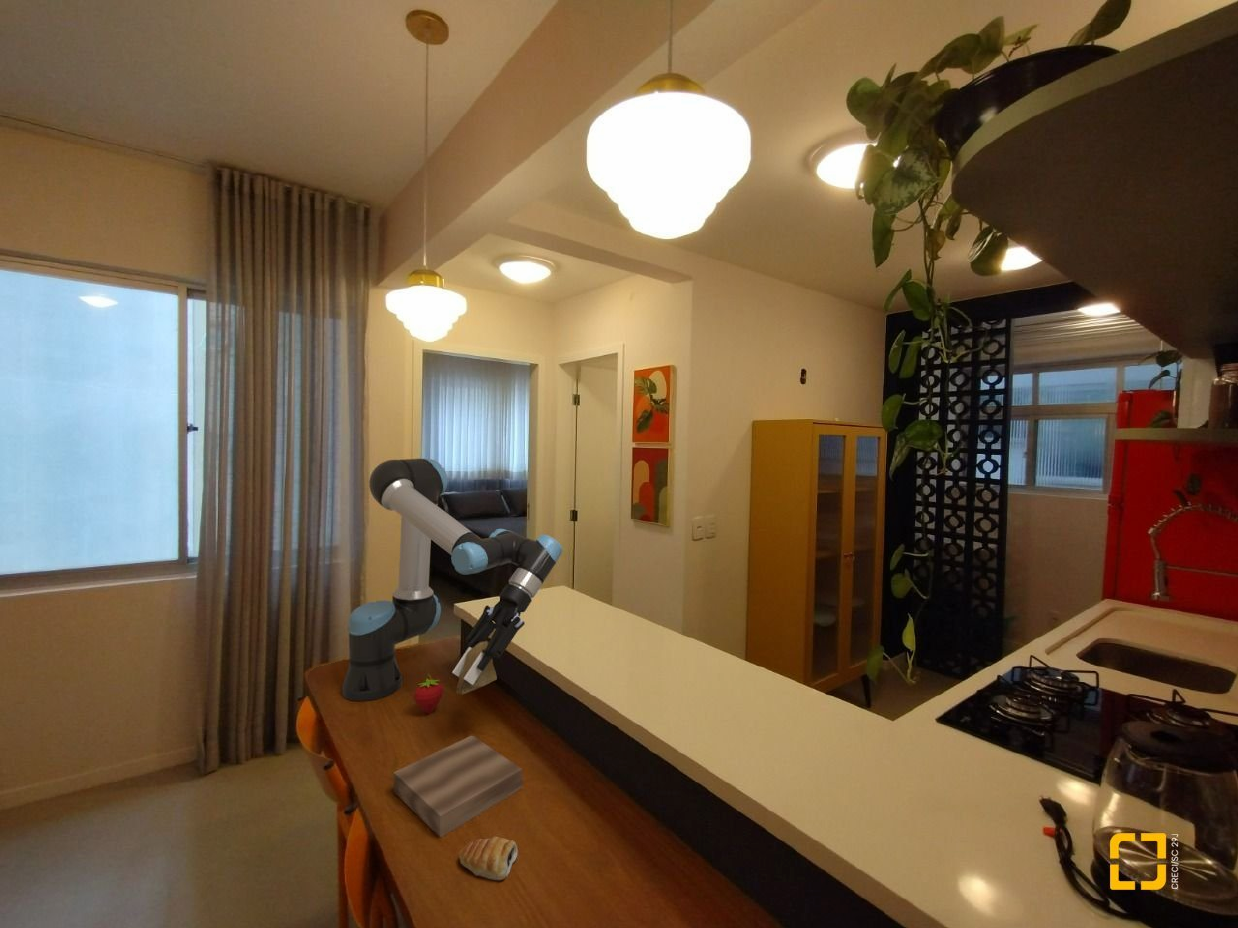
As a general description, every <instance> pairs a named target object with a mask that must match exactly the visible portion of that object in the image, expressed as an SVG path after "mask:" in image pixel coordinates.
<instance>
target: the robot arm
mask: <svg viewBox="0 0 1238 928" xmlns="http://www.w3.org/2000/svg"><path fill="white" fill-rule="evenodd" d="M442 466H443V465H441V463H440V462H438V461H436V460H435V459H432V458H431V459H429V458H409V459H408V458H407V459H406V458H405V459H389V460H386V461H383V462H381V463H379V464H378V465H377V466H376V467H375V468H374V470H373V471H372V473H371V474H370V477H369V481H368V482H369V483H368V485H369V491H370V493H371V494H370V495H371V496H372V497H373V499H374V500H375V501H376V502H377V503H378V504H379V505H380V506H381V507H383V508H384V509H385V510H387V511H394V512H396V513H397V514H398V515H399V516H401V519H400V520H401V521H400V538H399V539H400V543H399V544H400V545H399V562H398V563H399V564H398V585H397V586H398V587H397V588H396V589H395V590H394V591H393V592H392V594H391V595H392V597H391V601H390V600H377V601H375V602H374V601H371V602H367V603H365V604H362V605H360V606H357V607H356V608H355V609H354V610H353V611H352V612H351V613H350V616H349V620H348V622H349V623H348V631H347V632H348V644H349V645H348V646H349V647H348V654H349V657H348V658H349V660H348V661H349V664H348V665H349V666H348V669H347V671H346V674H345V678H344V679H343V684H342V695H343V697H344V698H345V699H347V700H350V701H354V702H367V701H368V702H369V701H374V700H378V699H382V698H385V697H387V696H390V695H392V694H394V693H395V692H397V691H398V690H400V688H401V687H402V684H403V680H402V679H403V677H402V672H401V670H400V668H399V665H398V662H397V660H396V645H397V644H400V643H403V642H405V641H407V640H410V639H412V638H415V637H417V636H421V635H425V634H426V633H427V632H429V631H431V630H434V629H433V628H435V627H436V626H437V625H438V623H439V621H440V618H441V614H442V612H441V611H442V607H441V603H440V602H439V598H438V597H437V595H435V594H434V590H433V589H432V588H431V587H430V585H429V583H430V565H431V564H430V563H431V544H432V541H433V542H434V543H435V544H436V545H438V546H439V547H440V548H441V549H443V550H444V551H446V552H447V553H448V554H449V555H450V556H451V557H450V559H451V565H453V567H454V570H455V571H456V572H457V573H459V574H460V575H464V576H465V575H466V576H467V575H472V574H474V575H475V574H479V573H481V572H483V571H486V570H489V569H492V568H496V567H499V566H503V565H505V564H509V563H510V564H513V565H515V566H518V567H517V569H515V571H514V573H513V574H512V575H511V576H510V578H509V580H508V583H507V584H506V585H505V586H504V587H503V589H502V590H501V592H500V593H499V595H498V597H499V601H498V602H496V604H495V605H494V606H491V607H490V606H489V605H485V606H484V608H483V612H482V613H481V615H480V617H479V618H478V620H477V622H476V623H475V624H474V626H473V627H472V629H471V631H470V632H469V633H468V635H467V637H466V638H465V640H464V641H465V642H466V644H467V648H466V649H465V651H464V653H463V654H462V655H461V657H460V660H459V661H458V663H457V664H456V666H455V668H454V669H453V670H452V672H451V673H452V674H453V675H455V676H457V677H458V678H459V675H460V673H461V671H462V670H463V666H464V663H465V661H466V658H467V653H468V651H470V650H471V649H472V648H473V647H475V645H477V644H478V643H480V642H485V641H487V639H488V638H489V637H490V636H491V638H490V639H489V641H488V645H487V647H486V649H485V650H482V652H483V653H484V654H483V653H480V654H479V656H478V657H477V659H476V660H475V662H474V663H473V665H472V667H471V668H470V670H469V671H468V673H467V674H466V676H465V677H464V679H465V680H466V681H467V682H469V683H470V684H472V685H473V684H474V683H475V681H476V679H477V678H478V676H479V675H480V673H481V672H482V671H483V670H484V669H485V668H486V666H487V665H488V663H489V662H490V660H491V659H494V658H495V659H500V658H501V657H502V656H503V653H504V652H505V650H506V649H507V648H508V646H510V643H511V642H512V640H513V639H514V637H515V636H516V634H518V631H520V630H521V628H523V626H524V625H525V621H524V620H522V618H521V617H520V616H521V614H522V613H525V612H526V611H527V609H528V607H529V606H530V604H531V603H532V598H535V596H536V595H537V593H538V592H539V591H540V588H541V587H542V586H543V583H544V582H545V580H546V579H547V577H548V576H549V575H550V573H551V571H552V570H553V569H554V567H555V565H556V564H557V562H558V560H559V558H560V557H561V555H562V553H563V546H562V545H561V544H560V542H559V541H558V540H557V539H555V538H554V537H552V536H550V535H547V534H541V535H539V536H538V537H537V538H536V539H535V540H533V539H531V538H527V537H526V536H524V535H523V536H522V535H521V534H519V533H515V532H514V531H512V530H510V529H509V530H507V529H504V528H497V529H495V530H494V532H492V533H490V535H489V537H488V538H487V537H486V538H481V537H479V536H478V535H477V534H475V533H474V532H473V531H471V529H469V528H467V527H466V526H465V525H463V524H462V523H461V522H459V521H458V520H456V519H455V518H454V517H453V516H451V515H450V514H449V513H447V512H446V511H445V510H443V509H442V508H441V507H439V506H438V505H439V497H440V496H442V495H443V494H444V493H445V491H446V490H447V488H448V475H447V473H446V471H445V468H444V467H442Z"/></svg>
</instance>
